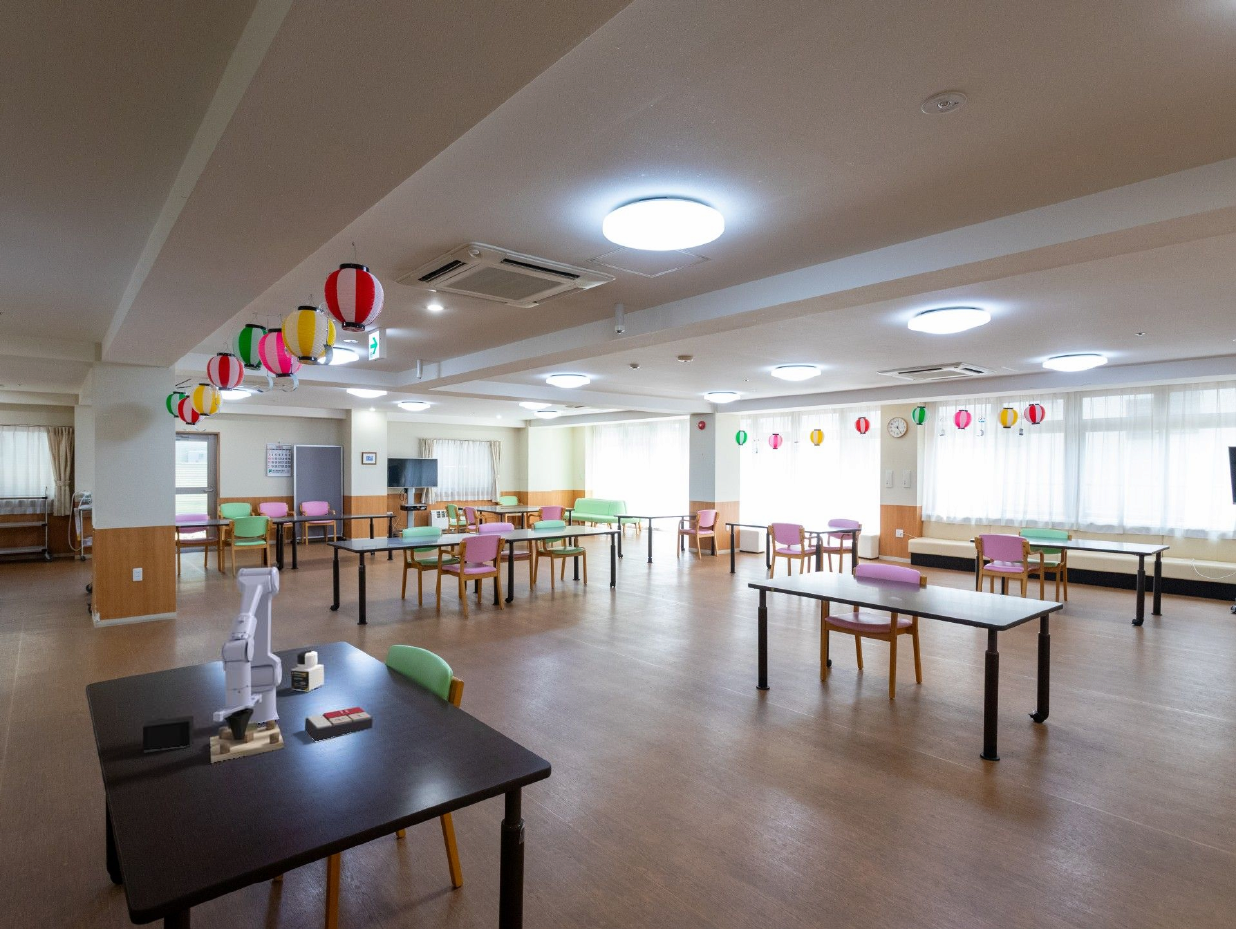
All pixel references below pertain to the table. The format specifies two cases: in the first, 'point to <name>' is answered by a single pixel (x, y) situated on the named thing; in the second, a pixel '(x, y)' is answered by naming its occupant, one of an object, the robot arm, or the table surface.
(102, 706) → the table surface
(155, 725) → the digital camera
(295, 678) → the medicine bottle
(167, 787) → the table surface
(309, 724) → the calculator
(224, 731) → the folding leg
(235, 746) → the stool seat
